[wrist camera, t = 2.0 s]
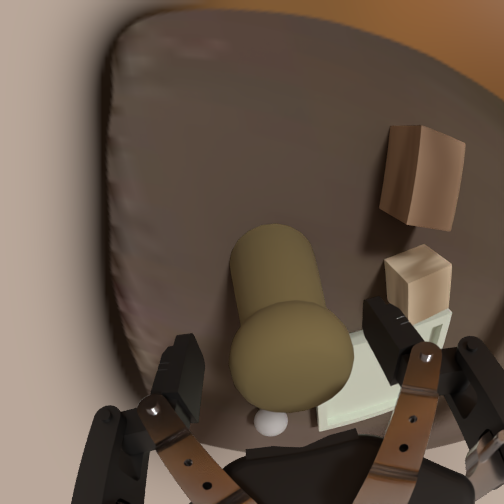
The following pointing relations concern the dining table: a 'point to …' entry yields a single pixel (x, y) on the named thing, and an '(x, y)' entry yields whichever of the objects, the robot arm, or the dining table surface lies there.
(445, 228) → the walnut block
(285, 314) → the cork
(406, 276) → the maple block
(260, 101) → the dining table surface
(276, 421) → the grey ball
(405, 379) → the robot arm
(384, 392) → the tray
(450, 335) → the dining table surface
